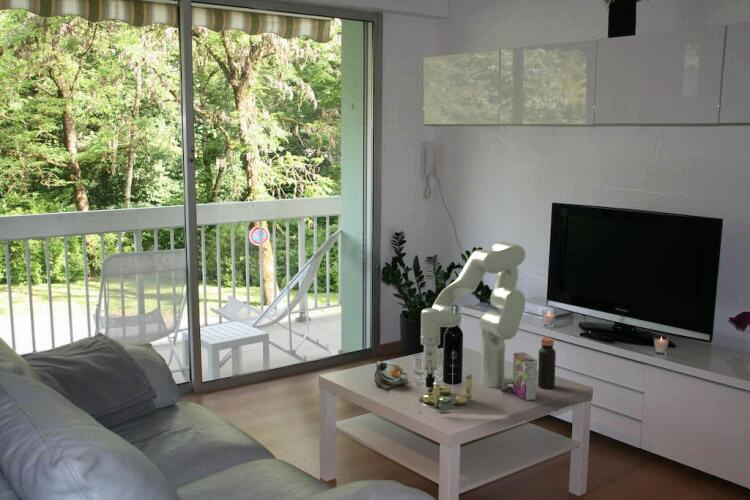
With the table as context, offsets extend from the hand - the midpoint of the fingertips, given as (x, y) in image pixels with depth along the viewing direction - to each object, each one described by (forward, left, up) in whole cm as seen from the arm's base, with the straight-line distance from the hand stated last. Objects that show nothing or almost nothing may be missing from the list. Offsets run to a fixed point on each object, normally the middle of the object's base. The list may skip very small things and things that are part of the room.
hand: (430, 385), depth 307 cm
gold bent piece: (-13, +8, -3) cm, 16 cm away
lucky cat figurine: (+16, -13, -5) cm, 22 cm away
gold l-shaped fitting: (-1, +13, -3) cm, 13 cm away
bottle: (-47, -19, -5) cm, 51 cm away
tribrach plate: (-6, +7, -5) cm, 11 cm away
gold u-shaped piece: (-3, 0, -3) cm, 5 cm away
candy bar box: (-37, -6, -5) cm, 38 cm away
